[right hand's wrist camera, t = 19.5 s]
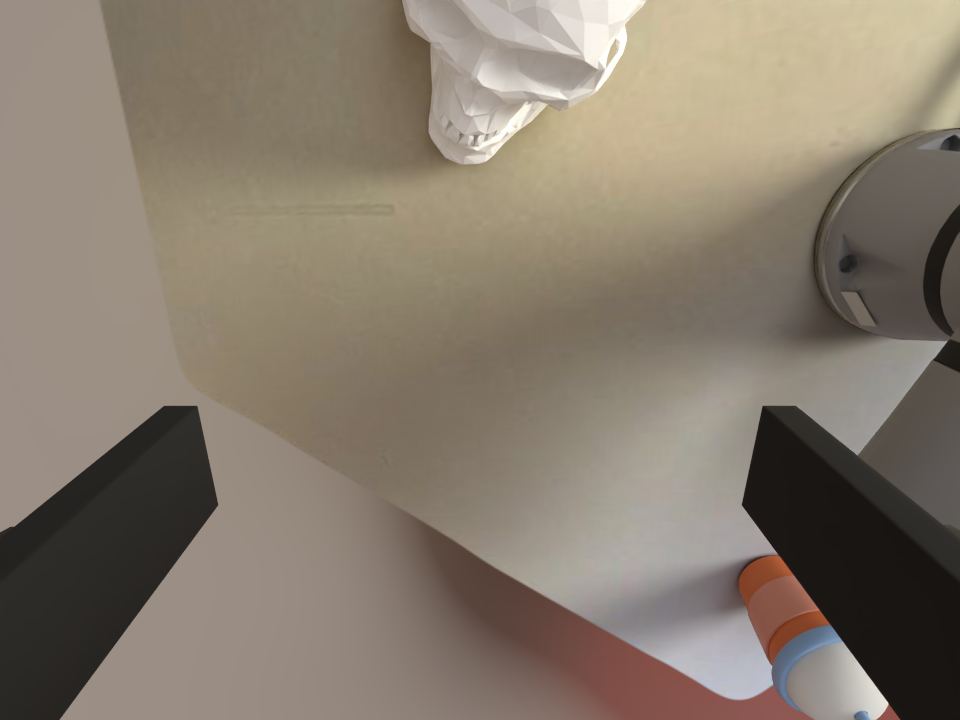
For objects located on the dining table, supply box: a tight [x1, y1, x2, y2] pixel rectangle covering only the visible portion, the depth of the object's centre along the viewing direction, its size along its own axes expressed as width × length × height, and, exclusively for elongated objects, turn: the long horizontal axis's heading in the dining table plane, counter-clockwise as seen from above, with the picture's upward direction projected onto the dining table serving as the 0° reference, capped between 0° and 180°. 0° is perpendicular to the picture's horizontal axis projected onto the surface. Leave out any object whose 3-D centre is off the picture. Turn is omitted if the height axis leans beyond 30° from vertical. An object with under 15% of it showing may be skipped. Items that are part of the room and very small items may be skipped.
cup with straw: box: [738, 556, 889, 720], centre depth 45 cm, size 9×9×18 cm
